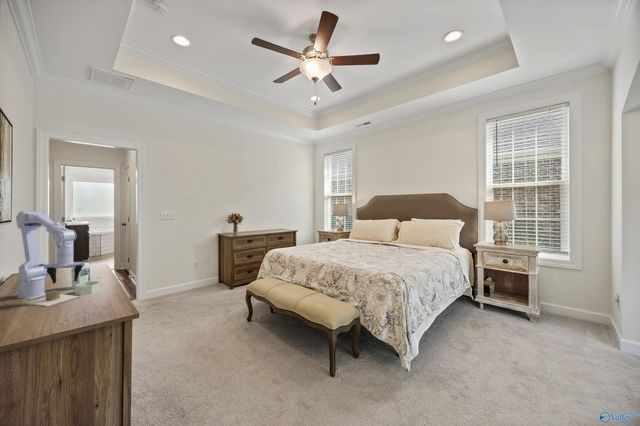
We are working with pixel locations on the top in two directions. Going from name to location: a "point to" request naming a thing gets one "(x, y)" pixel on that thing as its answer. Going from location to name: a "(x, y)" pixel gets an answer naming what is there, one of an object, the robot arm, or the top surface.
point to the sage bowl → (88, 288)
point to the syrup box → (81, 275)
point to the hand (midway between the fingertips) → (65, 281)
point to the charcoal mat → (54, 304)
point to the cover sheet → (47, 303)
